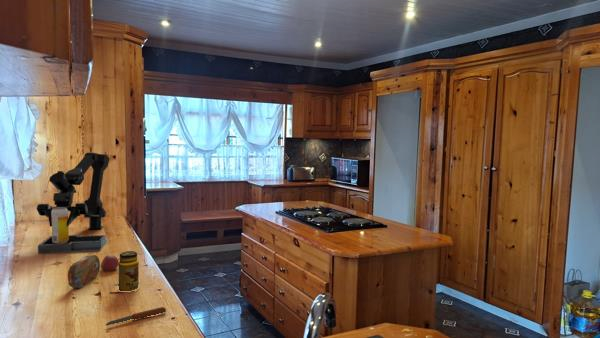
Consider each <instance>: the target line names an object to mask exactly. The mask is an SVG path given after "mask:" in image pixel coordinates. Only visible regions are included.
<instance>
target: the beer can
mask: <svg viewBox="0 0 600 338" xmlns="http://www.w3.org/2000/svg"><path fill="white" fill-rule="evenodd" d="M51 218H52V226H51V236H52V242H53V243H54V244H63V243H67V241H68V240H69V235H70V233H69V226H67V221H68V218H69V211H68V210H67V208H66V207H57V208H53V209H52V211H51Z"/></svg>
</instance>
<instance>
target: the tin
mask: <svg viewBox="0 0 600 338" xmlns="http://www.w3.org/2000/svg"><path fill="white" fill-rule="evenodd" d="M100 269H101V263H100V259H99V257H98V255H96V254H92V255H91V254H90V255H86V256H84V257H82V258H80V259H79V260H77V261H75V262H73V263H72V264H71V265H70V267H69V269H68V270H67V281H68V285H69V286H70V287H71V288H72V289H73V288H78V289H81V288H84V287H85V286H86V285H88V284H90V283H91V282H92V281H93V280H95V279H97V277H98V275H99V272H100ZM83 286H84V287H83Z"/></svg>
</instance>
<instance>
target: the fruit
mask: <svg viewBox="0 0 600 338" xmlns="http://www.w3.org/2000/svg"><path fill="white" fill-rule="evenodd" d="M119 261H120V257H118V258H117V256H116V255H114V254H108V255H105V256H104V257H103V259H102V261H101V263H100V269H101V270H102V271H103V272H106V271H107V273H108V272H114V271H115V270H116V269H117V268H119Z"/></svg>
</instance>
